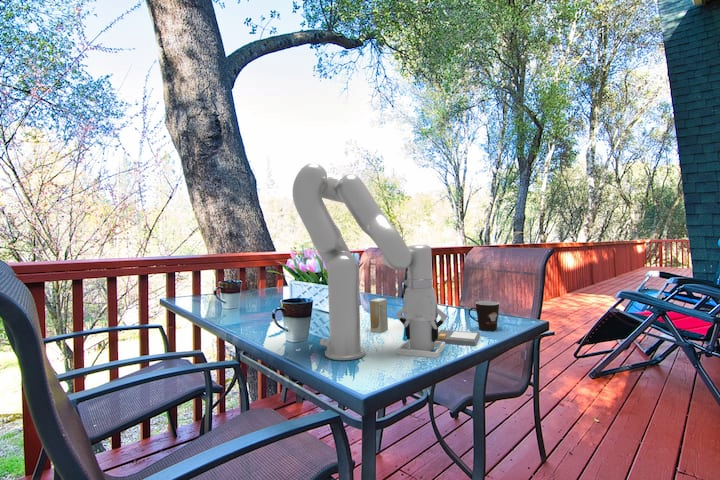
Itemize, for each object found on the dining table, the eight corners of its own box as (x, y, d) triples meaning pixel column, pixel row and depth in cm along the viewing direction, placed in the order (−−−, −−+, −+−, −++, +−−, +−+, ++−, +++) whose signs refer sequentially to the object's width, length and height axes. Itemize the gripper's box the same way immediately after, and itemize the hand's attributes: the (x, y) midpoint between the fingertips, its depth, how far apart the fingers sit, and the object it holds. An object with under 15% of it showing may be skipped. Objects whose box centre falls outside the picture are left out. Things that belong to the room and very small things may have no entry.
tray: (397, 353, 115) (397, 348, 115) (409, 343, 126) (408, 338, 126) (436, 358, 110) (436, 352, 110) (445, 346, 121) (445, 341, 121)
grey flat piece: (409, 340, 130) (409, 333, 130) (419, 332, 141) (418, 325, 141) (475, 346, 121) (475, 339, 121) (479, 336, 132) (479, 330, 132)
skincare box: (379, 328, 148) (378, 297, 148) (388, 329, 146) (387, 298, 146) (369, 332, 143) (369, 300, 143) (379, 333, 141) (378, 300, 141)
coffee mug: (497, 326, 146) (496, 301, 146) (501, 332, 137) (501, 305, 137) (466, 326, 148) (466, 301, 148) (469, 331, 140) (468, 305, 140)
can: (433, 354, 114) (432, 315, 114) (409, 353, 115) (408, 314, 115) (434, 347, 121) (433, 310, 121) (410, 346, 122) (409, 310, 122)
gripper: (390, 284, 118) (391, 340, 118) (445, 286, 111) (446, 345, 111) (397, 282, 125) (399, 334, 125) (450, 283, 118) (451, 339, 118)
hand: (421, 339), depth 118 cm, fingers closed on can, 7 cm apart
